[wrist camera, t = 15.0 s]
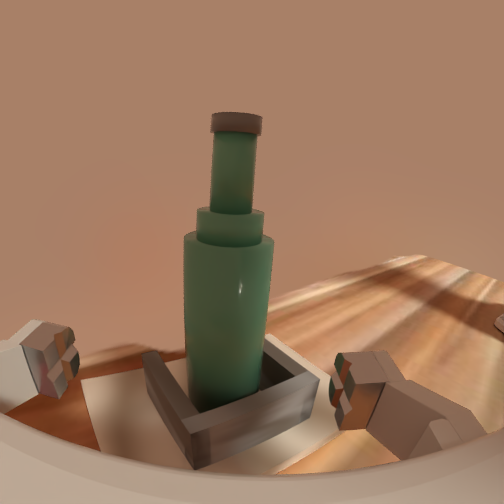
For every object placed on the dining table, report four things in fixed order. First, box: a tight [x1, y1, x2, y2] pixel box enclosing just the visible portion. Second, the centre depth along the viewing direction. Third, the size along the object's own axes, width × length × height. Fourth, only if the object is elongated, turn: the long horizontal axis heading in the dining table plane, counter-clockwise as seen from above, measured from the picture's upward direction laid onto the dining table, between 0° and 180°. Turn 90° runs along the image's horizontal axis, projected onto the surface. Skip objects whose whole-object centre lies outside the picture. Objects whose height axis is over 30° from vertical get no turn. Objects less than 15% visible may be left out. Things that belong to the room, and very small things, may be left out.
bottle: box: [184, 112, 274, 414], centre depth 19 cm, size 5×5×20 cm
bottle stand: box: [81, 334, 346, 475], centre depth 21 cm, size 20×14×5 cm
